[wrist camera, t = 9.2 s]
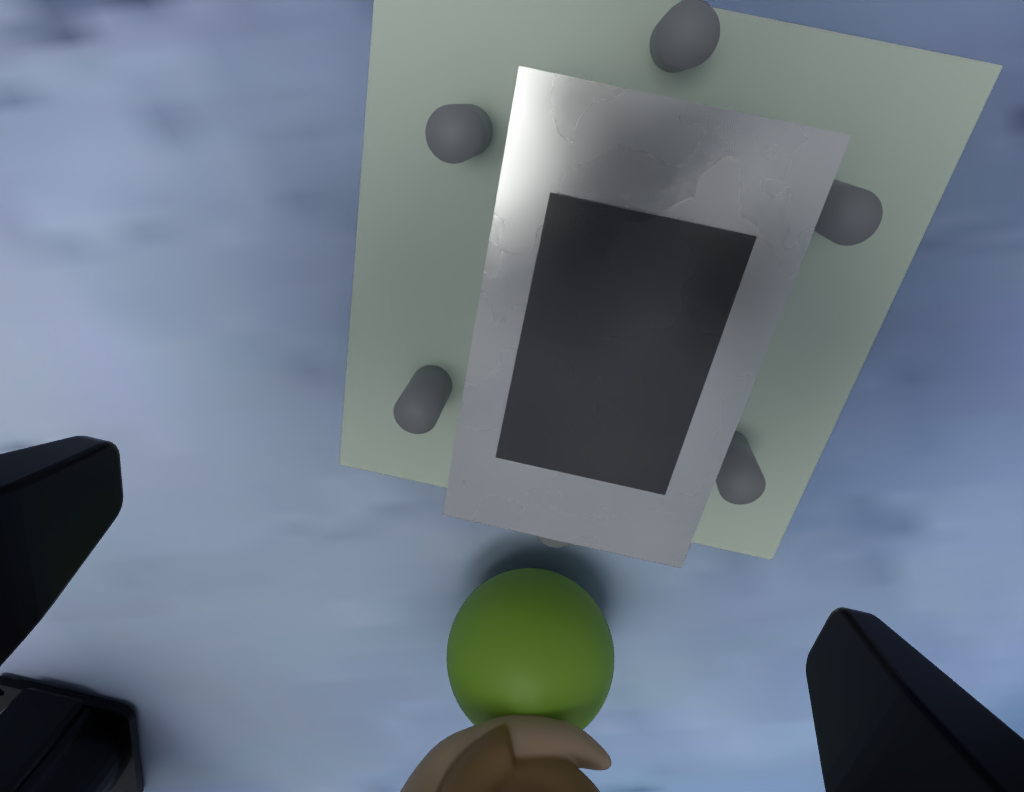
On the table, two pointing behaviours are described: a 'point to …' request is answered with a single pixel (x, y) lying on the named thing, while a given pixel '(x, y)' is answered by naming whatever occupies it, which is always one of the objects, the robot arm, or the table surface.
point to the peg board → (662, 71)
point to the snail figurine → (523, 689)
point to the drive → (627, 309)
